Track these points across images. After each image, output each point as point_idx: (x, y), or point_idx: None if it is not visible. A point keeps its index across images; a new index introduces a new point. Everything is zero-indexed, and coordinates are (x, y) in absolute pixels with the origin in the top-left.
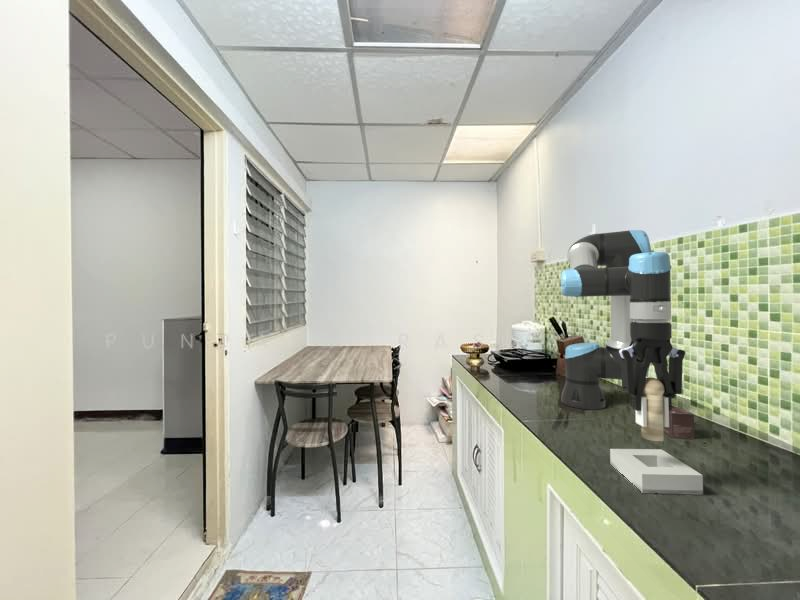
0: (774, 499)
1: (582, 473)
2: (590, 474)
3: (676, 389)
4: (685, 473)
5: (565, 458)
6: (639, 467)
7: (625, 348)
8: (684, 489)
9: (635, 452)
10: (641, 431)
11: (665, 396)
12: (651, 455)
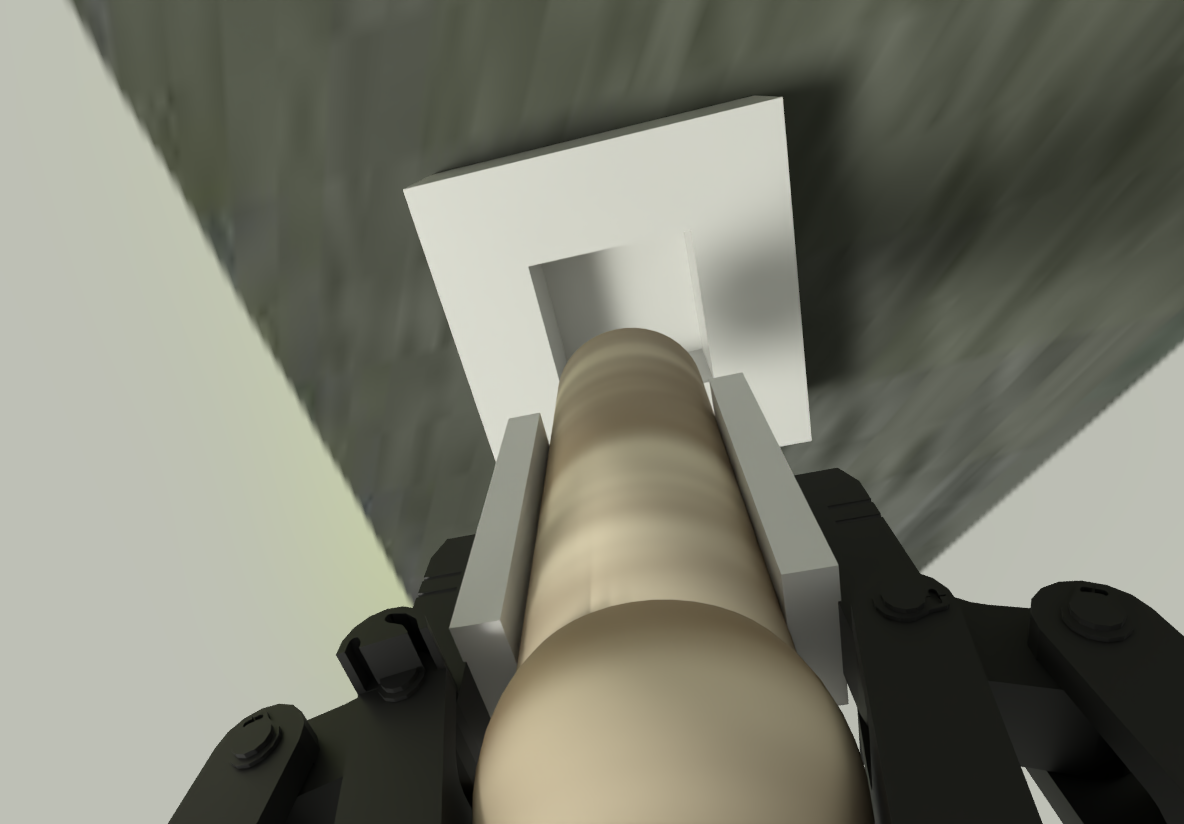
0: (1091, 359)
1: (272, 325)
2: (312, 326)
3: (1055, 799)
4: None
5: (164, 143)
6: None
7: None
8: None
9: (564, 212)
10: (556, 400)
11: (844, 666)
12: (655, 237)
